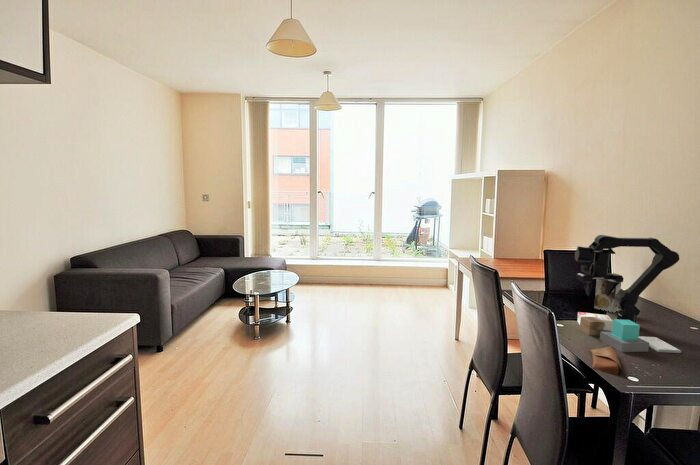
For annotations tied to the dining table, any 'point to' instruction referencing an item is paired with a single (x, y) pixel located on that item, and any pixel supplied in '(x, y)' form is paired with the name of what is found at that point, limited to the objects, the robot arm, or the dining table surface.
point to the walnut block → (591, 325)
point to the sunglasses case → (606, 360)
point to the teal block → (625, 329)
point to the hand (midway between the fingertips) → (597, 295)
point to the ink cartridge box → (605, 318)
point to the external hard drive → (660, 345)
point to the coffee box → (605, 296)
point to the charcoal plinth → (624, 343)
